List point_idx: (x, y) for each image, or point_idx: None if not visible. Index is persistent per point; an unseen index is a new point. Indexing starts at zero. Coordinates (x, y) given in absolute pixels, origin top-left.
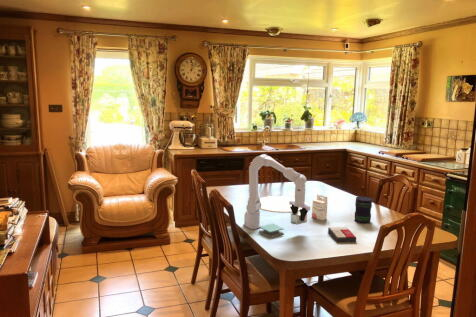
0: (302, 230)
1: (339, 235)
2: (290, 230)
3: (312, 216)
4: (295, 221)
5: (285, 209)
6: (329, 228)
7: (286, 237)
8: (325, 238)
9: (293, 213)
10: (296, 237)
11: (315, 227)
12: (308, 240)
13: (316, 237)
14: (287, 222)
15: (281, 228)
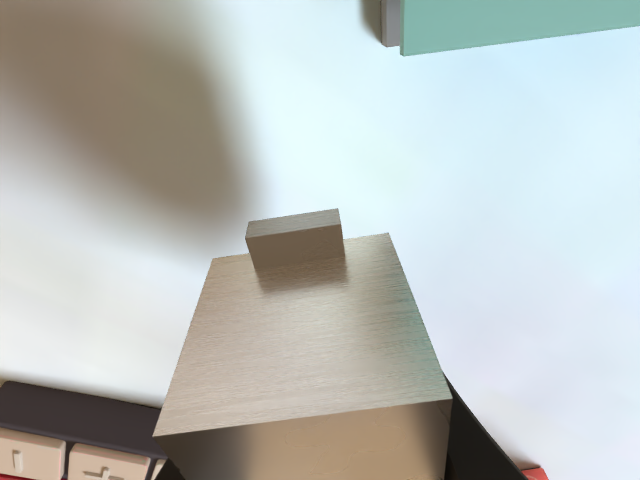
0: None
1: (8, 453)
2: (442, 213)
3: (539, 476)
4: (245, 290)
5: None
6: None
7: (253, 4)
8: (114, 361)
9: (430, 453)
10: (208, 146)
11: None
12: (80, 216)
13: (154, 319)
14: (628, 305)
15: (431, 7)
